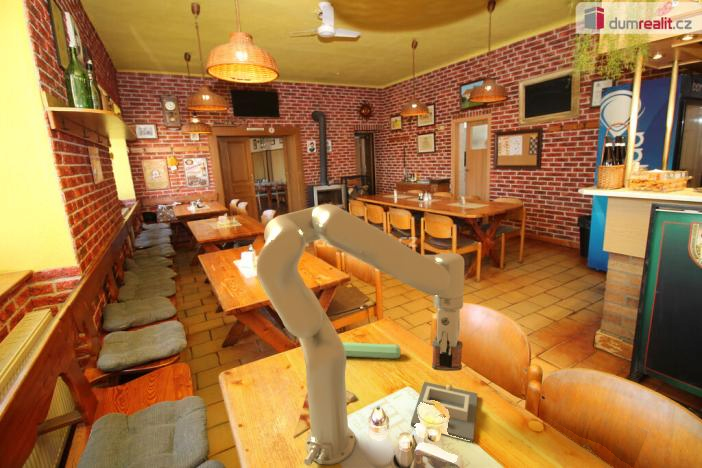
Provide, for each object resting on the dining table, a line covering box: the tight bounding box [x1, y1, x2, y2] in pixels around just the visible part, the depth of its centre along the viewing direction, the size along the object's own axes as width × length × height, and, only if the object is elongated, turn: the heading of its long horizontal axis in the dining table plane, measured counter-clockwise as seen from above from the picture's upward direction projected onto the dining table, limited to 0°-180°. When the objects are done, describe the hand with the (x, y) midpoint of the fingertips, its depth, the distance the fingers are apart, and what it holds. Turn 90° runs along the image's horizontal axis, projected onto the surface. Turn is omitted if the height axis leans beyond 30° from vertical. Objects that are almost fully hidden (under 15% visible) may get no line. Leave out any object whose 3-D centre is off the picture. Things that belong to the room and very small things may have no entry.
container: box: [342, 341, 402, 360], centre depth 126 cm, size 6×6×25 cm
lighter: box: [431, 333, 463, 372], centre depth 94 cm, size 8×3×10 cm, turn 84°
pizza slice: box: [293, 389, 357, 439], centre depth 104 cm, size 16×22×2 cm
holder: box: [410, 381, 478, 442], centre depth 98 cm, size 18×16×4 cm
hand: (446, 360), depth 95 cm, fingers closed on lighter, 4 cm apart
